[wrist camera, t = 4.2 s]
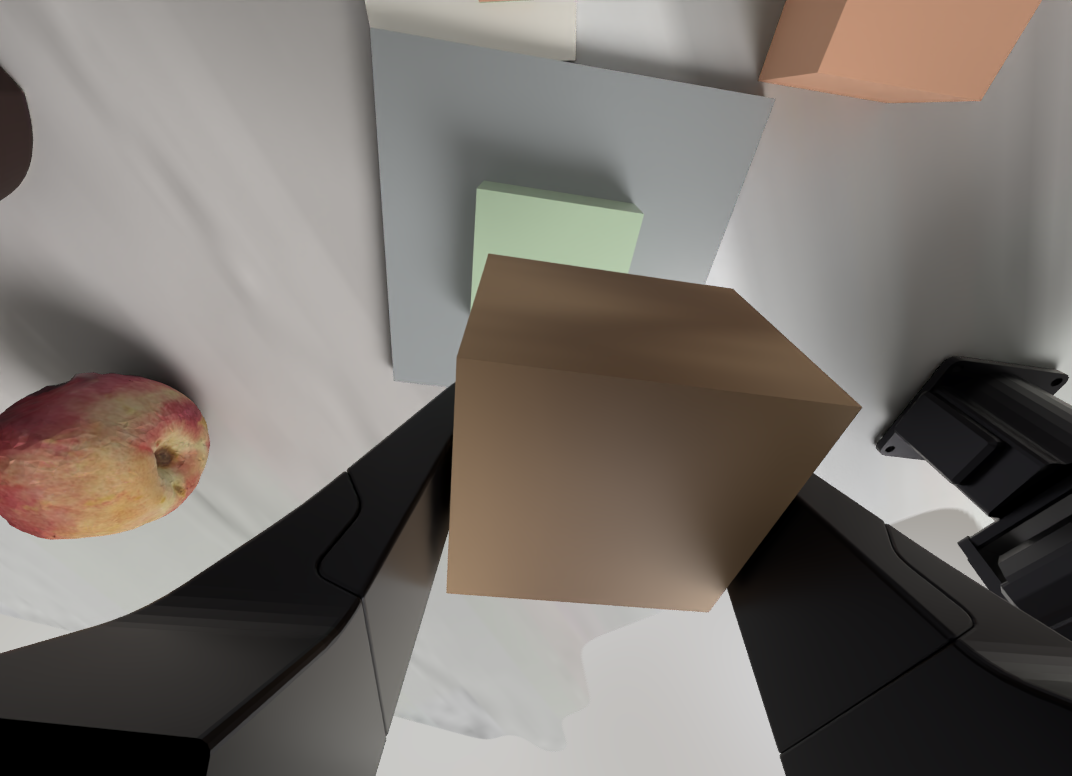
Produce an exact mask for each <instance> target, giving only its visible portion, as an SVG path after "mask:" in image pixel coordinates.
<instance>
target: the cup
mask: <svg viewBox="0 0 1072 776" xmlns="http://www.w3.org/2000/svg"><path fill="white" fill-rule="evenodd" d="M32 148H33V134H32V124H31V119H30V113H29V109H28V106H27V102H26V98H25V94H24V92H23V91H22V89H21V88H20V87H19V86H18V85H17V84H16V83H15V82H14V81H13V80H12V79H11V78H10V77H9V76H8V74H7V73H6V72H5V71H4V70H3V69H2V68H1V67H0V200H2V199H3V198H5V197H6V196H8V195H9V194H10V193H12V192H13V191H14V190H15V189H16V188H17V187H18V186H19V185H20V184H21V182H22V181H23V179H24V177H25V176H26V174H27V171H28V169H29V166H30V162H31V157H32Z"/></svg>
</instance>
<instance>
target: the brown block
mask: <svg viewBox="0 0 1072 776" xmlns="http://www.w3.org/2000/svg"><path fill="white" fill-rule="evenodd" d="M861 408H862V407H861V406H860V405H859V404H858V403H857V402H856V401H855V400H854V399H853V398H852V397H850V396H849V395H848V394H847V393H846V392H845V391H844V390H843V389H842V388H841V387H840V386H838V385H837V384H836V383H835V382H834V381H833V380H832V379H831V378H830V377H829V376H828V375H826V374H825V373H824V372H823V371H822V370H821V369H820V368H819V367H818V366H817V365H816V364H814V363H813V362H812V361H811V360H810V359H809V358H808V357H807V356H806V355H805V354H803V353H802V352H801V351H800V350H799V349H798V348H797V347H796V346H795V345H794V344H793V343H791V342H790V341H789V340H788V339H787V338H786V337H785V336H784V335H783V334H782V333H781V332H779V331H778V330H777V329H776V328H775V327H774V326H773V325H772V324H771V323H770V322H769V321H767V320H766V319H765V318H764V317H763V316H762V315H761V314H760V313H759V312H758V311H756V310H755V309H754V308H753V307H752V306H751V305H750V304H749V303H748V302H747V301H746V300H744V299H743V298H742V297H741V296H740V295H739V294H738V293H737V292H736V291H735V290H734V289H730V288H723V287H716V286H710V285H703V284H696V283H689V282H682V281H675V280H668V279H661V278H655V277H648V276H641V275H634V274H627V273H620V272H613V271H606V270H600V269H593V268H586V267H579V266H572V265H565V264H558V263H551V262H545V261H538V260H531V259H524V258H517V257H510V256H503V255H496V254H490V253H489V254H488V257H487V260H486V263H485V267H484V270H483V273H482V276H481V280H480V283H479V286H478V289H477V293H476V296H475V299H474V302H473V306H472V309H471V312H470V315H469V319H468V322H467V325H466V328H465V332H464V335H463V338H462V341H461V345H460V348H459V351H458V354H457V358H456V381H455V405H454V428H453V452H452V476H451V499H450V523H449V546H448V570H447V593H451V594H464V595H478V596H492V597H505V598H519V599H533V600H546V601H560V602H574V603H587V604H601V605H614V606H628V607H642V608H655V609H669V610H683V611H697V612H709V611H710V610H711V608H712V607H713V606H714V604H715V603H716V602H717V600H718V599H719V598H720V596H721V595H722V594H723V592H724V591H725V590H726V588H727V587H728V586H729V584H730V583H731V582H732V580H733V579H734V578H735V576H736V575H737V574H738V572H739V571H740V570H741V568H742V567H743V566H744V564H745V563H746V562H747V560H748V559H749V558H750V556H751V555H752V554H753V552H754V551H755V550H756V548H757V547H758V546H759V544H760V543H761V542H762V540H763V539H764V538H765V536H766V535H767V534H768V532H769V531H770V530H771V528H772V527H773V526H774V524H775V523H776V522H777V520H778V519H779V518H780V516H781V515H782V514H783V512H784V511H785V510H786V508H787V507H788V506H789V504H790V503H791V502H792V500H793V499H794V498H795V496H796V495H797V494H798V492H799V491H800V490H801V488H802V487H803V486H804V484H805V483H806V482H807V480H808V479H809V478H810V476H811V475H812V474H813V472H814V471H815V470H816V468H817V467H818V466H819V464H820V463H821V462H822V460H823V459H824V458H825V456H826V455H827V454H828V452H829V451H830V450H831V448H832V447H833V446H834V444H835V443H836V442H837V440H838V439H839V438H840V436H841V435H842V434H843V432H844V431H845V430H846V428H847V427H848V426H849V424H850V423H851V422H852V420H853V419H854V418H855V416H856V415H857V414H858V412H859V411H860V410H861Z"/></svg>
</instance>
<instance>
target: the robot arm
mask: <svg viewBox="0 0 1072 776" xmlns="http://www.w3.org/2000/svg"><path fill="white" fill-rule="evenodd" d="M1068 378H1069V377H1068V375H1066V374H1064V373H1062V372H1061V371H1058V370H1054V369H1047V368H1039V367H1032V366H1025V365H1017V364H1010V363H1003V362H995V361H988V360H981V359H973V358H966V357H959V356H956V357H951V358H949V359H947V360H945V361H944V362H943V363H942V364H941V366H940V367H939V368H938V369H937V371H936V372H935V373H934V374H933V376H932V377H931V378H930V379H929V380H928V382H927V383H926V384H925V385H924V387H923V388H922V389H921V390H920V392H919V393H918V394H917V395H916V397H915V398H914V399H913V400H912V401H911V403H910V404H909V405H908V406H907V408H906V409H905V410H904V411H903V413H902V414H901V415H900V416H899V418H898V419H897V420H896V421H895V422H894V424H893V425H892V426H891V427H890V429H889V430H888V431H887V432H886V434H885V435H884V436H883V437H882V439H881V440H880V441H879V442H878V443H877V445H876V449H877V450H878V451H879V452H880V453H881V454H882V455H885V456H894V457H902V458H911V459H919V460H926V461H927V462H928V463H929V464H930V465H931V466H932V467H933V468H935V469H936V470H937V471H938V472H939V473H940V474H941V475H942V476H943V477H944V478H946V479H947V480H948V481H949V482H950V483H952V484H953V485H955V486H956V487H957V488H958V489H959V490H960V491H961V492H962V493H963V494H964V495H966V496H967V497H968V498H969V499H970V500H971V501H972V502H973V503H974V504H975V505H977V506H978V507H979V508H980V509H981V510H982V511H983V512H984V513H985V514H986V515H988V516H989V517H991V518H992V519H993V520H994V521H995V522H993V523H992V524H990V525H989V526H987V527H985V528H984V529H982V530H981V531H979V532H978V533H976V534H974V535H973V536H971V537H969V536H967V537H965V538H964V539H962V540H961V541H959V542H958V545H959V546H960V548H961V549H962V550H963V552H964V553H965V555H966V556H967V558H968V561H969V563H970V564H971V565H972V567H973V568H974V569H975V571H976V572H977V574H978V575H979V577H980V578H981V579H982V581H983V582H984V584H985V585H986V586H987V588H988V589H989V590H988V589H987V588H985V587H983V586H982V585H980V584H979V583H977V582H975V581H974V580H972V579H971V578H969V577H967V576H966V575H964V574H963V573H961V572H960V571H958V570H956V569H955V568H953V567H952V566H950V565H949V564H947V563H946V562H944V561H942V560H941V559H939V558H938V557H936V556H935V555H933V554H932V553H930V552H929V551H927V550H926V549H924V548H923V547H921V546H920V545H918V544H917V543H915V542H914V541H912V540H911V539H909V538H908V537H906V536H905V535H903V534H902V533H901V532H899V531H898V530H896V529H895V528H893V527H892V526H890V525H889V524H884V521H883V520H881V519H880V518H878V517H877V516H875V515H874V514H873V513H871V512H870V511H868V510H867V509H865V508H864V507H862V506H861V505H859V504H858V503H856V502H855V501H853V500H852V499H850V498H849V497H848V496H846V495H845V494H843V493H842V492H840V491H839V490H837V489H836V488H834V487H833V486H831V485H830V484H828V483H827V482H826V481H824V480H823V479H821V478H820V477H818V476H817V475H815V474H814V473H813V474H812V475H811V476H810V478H809V479H808V480H807V482H806V483H805V484H804V486H803V487H802V488H801V490H800V491H799V492H798V494H797V495H796V496H795V498H794V499H793V500H792V502H791V503H790V504H789V506H788V507H787V508H786V510H785V511H784V512H783V514H782V515H781V516H780V518H779V519H778V520H777V522H776V523H775V524H774V526H773V527H772V528H771V530H770V531H769V532H768V534H767V535H766V536H765V538H764V539H763V540H762V542H761V543H760V544H759V546H758V547H757V548H756V550H755V551H754V552H753V554H752V555H751V556H750V558H749V559H748V560H747V562H746V563H745V564H744V566H743V567H742V568H741V570H740V571H739V572H738V574H737V575H736V576H735V578H734V579H733V580H732V582H731V583H730V584H729V586H728V587H727V590H728V593H729V596H730V599H731V602H732V605H733V609H734V612H735V615H736V618H737V621H738V625H739V628H740V631H741V634H742V637H743V640H744V644H745V647H746V650H747V653H748V656H749V659H750V663H751V666H752V669H753V672H754V675H755V678H756V682H757V685H758V688H759V691H760V694H761V697H762V701H763V704H764V707H765V710H766V713H767V716H768V720H769V723H770V726H771V729H772V732H773V735H774V739H775V742H776V745H777V748H778V751H779V752H780V753H781V754H780V759H781V762H782V765H783V768H784V771H785V774H786V776H1072V406H1071V405H1069V404H1068V403H1066V402H1064V401H1062V400H1060V399H1059V398H1057V397H1055V396H1053V395H1054V394H1055V393H1056V392H1057V391H1058V390H1059V389H1060V388H1061V387H1062V386H1063V385H1064V384H1065V383H1066V382H1067V381H1068ZM454 405H455V382H454V383H453V384H451V385H450V386H449V387H448V388H447V389H445V390H444V391H443V392H442V393H440V394H439V395H438V396H437V397H435V398H434V399H433V400H432V401H431V402H429V403H428V404H427V405H426V406H424V407H423V408H422V409H421V410H419V411H418V412H417V413H416V414H414V415H413V416H412V417H411V418H410V419H408V420H407V421H406V422H405V423H403V424H402V425H401V426H400V427H398V428H397V429H396V430H395V431H394V432H392V433H391V434H390V435H389V436H387V437H386V438H385V439H384V440H382V441H381V442H380V443H379V444H378V445H376V446H375V447H374V448H373V449H371V450H370V451H369V452H368V453H366V454H365V455H364V456H363V457H362V458H360V459H359V460H358V461H357V462H355V463H354V464H353V465H352V466H350V467H349V468H348V469H347V472H343V473H342V474H340V475H339V476H338V477H337V478H335V479H334V480H333V481H332V482H330V483H329V484H328V485H327V486H325V487H324V488H323V489H321V490H320V491H319V492H318V493H316V494H315V495H314V496H312V497H311V498H310V499H308V500H307V501H306V502H305V503H303V504H302V505H300V506H299V507H298V508H296V509H295V510H293V511H292V512H290V513H289V514H288V515H286V516H285V517H283V518H282V519H280V520H279V521H278V522H276V523H275V524H273V525H272V526H270V527H269V528H267V529H266V530H264V531H263V532H261V533H260V534H258V535H257V536H255V537H254V538H252V539H251V540H249V541H248V542H246V543H245V544H243V545H242V546H240V547H239V548H237V549H236V550H234V551H233V552H231V553H230V554H228V555H227V556H225V557H224V558H222V559H221V560H219V561H218V562H216V563H215V564H213V565H212V566H210V567H209V568H207V569H206V570H204V571H203V572H201V573H200V574H198V575H197V576H195V577H194V578H192V579H191V580H189V581H188V582H186V583H185V584H183V585H182V586H180V587H178V588H177V589H175V590H174V591H172V592H170V593H169V594H167V595H165V596H164V597H162V598H160V599H158V600H156V601H154V602H153V603H151V604H149V605H147V606H145V607H143V608H141V609H138V610H136V611H134V612H132V613H130V614H128V615H125V616H123V617H120V618H117V619H115V620H112V621H109V622H106V623H103V624H100V625H97V626H94V627H90V628H87V629H83V630H80V631H76V632H73V633H70V634H66V635H63V636H59V637H56V638H52V639H49V640H45V641H42V642H38V643H35V644H32V645H28V646H24V647H21V648H17V649H14V650H10V651H7V652H4V653H0V776H375V775H376V772H377V768H378V765H379V762H380V759H381V755H382V752H383V749H384V745H385V742H386V736H387V734H388V731H389V728H390V725H391V721H392V718H393V715H394V711H395V708H396V705H397V701H398V698H399V695H400V691H401V688H402V685H403V681H404V678H405V675H406V671H407V668H408V665H409V661H410V658H411V655H412V651H413V648H414V644H415V641H416V638H417V634H418V631H419V628H420V624H421V621H422V618H423V614H424V611H425V608H426V604H427V601H428V598H429V594H430V591H431V588H432V584H433V581H434V578H435V574H436V571H437V567H438V564H439V561H440V557H441V554H442V551H443V547H444V544H445V541H446V537H447V534H448V531H449V523H450V499H451V476H452V452H453V428H454Z"/></svg>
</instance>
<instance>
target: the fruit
mask: <svg viewBox="0 0 1072 776" xmlns="http://www.w3.org/2000/svg"><path fill="white" fill-rule="evenodd" d="M209 447H210V440H209V434H208V429H207V424H206V421H205V419H204V417H203V416H202V414H201V412H200V410H199V409H198V408H197V406H196V405H195V404H194V403H193V402H192V401H191V400H190V399H189V398H188V397H186V396H185V395H183V394H182V393H180V392H179V391H177V390H175V389H174V388H172V387H170V386H168V385H166V384H163V383H161V382H157V381H154V380H151V379H147V378H144V377H140V376H132V375H121V374H115V373H109V374H103V375H102V374H98V373H94V372H93V373H79V374H76V375H75V376H74V377H73V378H72V379H71V380H70V381H68V382H66V383H62V384H59V385H52V386H46V387H44V388H42V389H41V390H39V391H37V392H34V393H32V394H30V395H28V396H26V397H24V398H23V399H21V400H19V401H17V402H16V403H14V404H13V405H12V406H10V407H9V408H7V409H6V410H5V411H4V412H3V413H1V415H0V515H1V516H2V517H3V518H5V519H6V520H7V521H8V523H9V524H10V525H11V526H13V527H15V528H17V529H19V530H21V531H22V532H26V533H29V534H31V535H34V536H36V537H40V538H45V539H76V538H84V537H94V536H104V535H110V534H116V533H120V532H124V531H128V530H131V529H135V528H137V527H139V526H142V525H144V524H145V523H148V522H151V521H154V520H156V519H159V518H161V517H163V516H166V515H167V514H169V513H170V512H172V511H173V510H175V509H176V508H177V507H178V506H179V505H180V504H182V503H183V501H184V500H186V498H187V497H188V496H189V495H190V494H191V493H192V491H193V490H194V489H195V487H196V486H197V484H198V482H199V479H200V476H201V474H202V472H203V470H204V468H205V465H206V461H207V458H208V453H209Z"/></svg>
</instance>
